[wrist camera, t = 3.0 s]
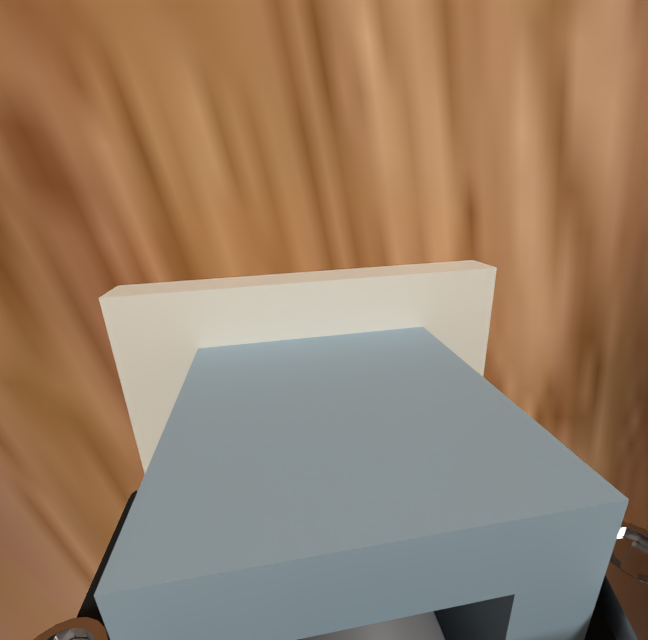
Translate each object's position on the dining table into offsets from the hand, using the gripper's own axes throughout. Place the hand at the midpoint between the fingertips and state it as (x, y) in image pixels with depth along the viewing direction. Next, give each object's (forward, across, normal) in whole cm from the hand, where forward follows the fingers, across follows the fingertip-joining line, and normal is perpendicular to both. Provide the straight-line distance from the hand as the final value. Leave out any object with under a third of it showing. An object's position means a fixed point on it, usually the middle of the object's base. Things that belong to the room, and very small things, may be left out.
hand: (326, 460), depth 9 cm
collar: (+1, 0, 0) cm, 1 cm away
